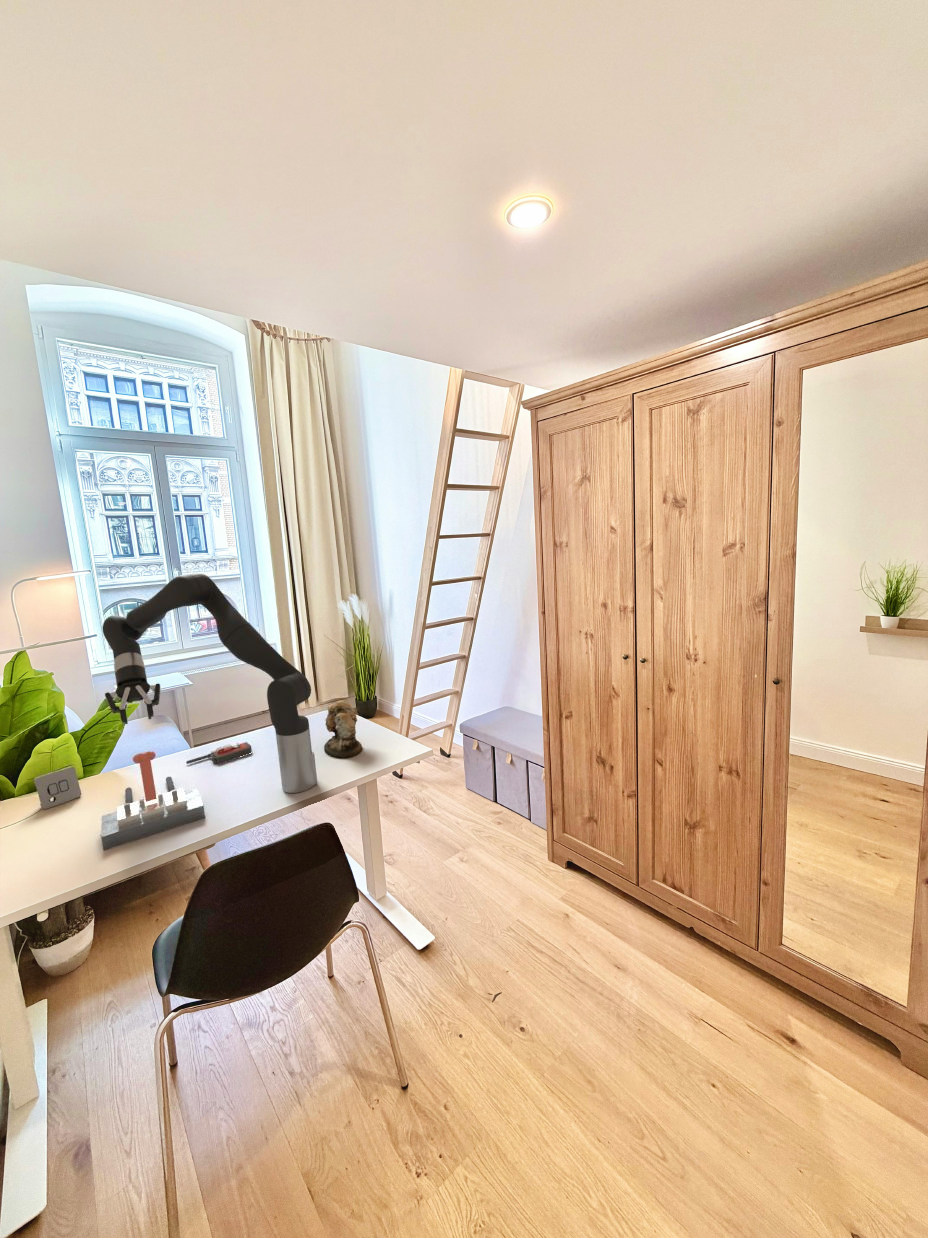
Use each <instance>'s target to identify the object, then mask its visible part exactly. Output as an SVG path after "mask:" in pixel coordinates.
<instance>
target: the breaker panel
mask: <svg viewBox="0 0 928 1238" xmlns="http://www.w3.org/2000/svg"><path fill="white" fill-rule="evenodd" d="M156 797H157V799H155V800H152V801H148V802H146V799H145V796H142V797H139V799H138V800H137V801H133V803H130V802H129V803H126V802H125V803H124V804H123V805H120V806H116V811H113V812H111V813H107V814H104V815H101V831H100V832H101V834H100V839H101V844H102V849H103V851H106V850H109V849H112V848H116V847H119V846H122V845H126V844H128V843H132V842H135V841H137V840H140V839H144V838H146V837H150V836H152V835H153V836H154V835H157V834H159V833H162V832H166V831H169V830H172V829H175V828H178V827H180V826H184V825H187V824H190V823H193V822H196V821H199V820H202V819H206V814H205V807H204V803H203V800H202V798H201V794H200V793H199V789H198V788H193V789H191V790H187V791H184V788H179V789H175V790H171V792H169V791H168V792H166V793H163V792H162V791H160V792H156Z"/></svg>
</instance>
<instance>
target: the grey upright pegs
mask: <svg viewBox="0 0 928 1238" xmlns="http://www.w3.org/2000/svg"><path fill="white" fill-rule="evenodd" d="M165 782H166V786H167V790H168V792H171V790H175V785H174V781H173V777H172V776H167V777H166V778H165ZM129 802H130V803H133V802H134V800H133V789H132V787H126V788H125V804H126V803H129Z"/></svg>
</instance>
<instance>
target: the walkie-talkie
mask: <svg viewBox="0 0 928 1238" xmlns="http://www.w3.org/2000/svg"><path fill="white" fill-rule="evenodd" d="M251 752H252V753H253V750H252V745H251V744H250V743H249V742H247V741H245V742H242V743H239V742H237V743H236V744H235V745H234V744H233V745H232V744H226V745H223V746H219V747H217V748H216V749H215V750H212V751H210V752H209V753H208V754H205V755H202V756H199V757H195V758H193V759H192V758H191V759H190V760H189V759H188V760H186V761H185V763H186V764H188V765H189V764H192V763H196V762H198V761H201V760H202V761H203V760H205V759H210V760H212V763H213V764H216V765H220V763H221V764H223V762H224V763H226V762H225V761H227V762H229V760H230V761H233V760H235V759H234V758H236V759H239V758H238V757H240V756H243V755H246V754H249V753H251ZM252 753H251V754H252ZM249 755H250V754H249ZM246 756H247V755H246ZM243 757H244V756H243ZM240 758H241V757H240ZM232 759H233V760H232Z"/></svg>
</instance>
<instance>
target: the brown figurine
mask: <svg viewBox="0 0 928 1238" xmlns="http://www.w3.org/2000/svg"><path fill="white" fill-rule="evenodd" d="M357 722H358V718H357V712H356V710H355V709H354V708H353V707H352V706H351V704H350V703H349V702H348V701H347V700H338V701H336V702H334V703H331V704H329V705H328V706H327V715H326V717H325V727H326V730H327V731H328V733H334V735H332V736H331V738H329V739H328V740H327V741H326V742H325V743H324V745H323V749H324V753H325V754H327V756H329V755H330V757H333V758H335V759H349V758H353V757H356V756H358V755H360V754H361V752H362V751H363V746H362V743H361V742H360V741H358V740H357V738H356V737H357V736H356V734H357V731H356V724H357Z"/></svg>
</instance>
